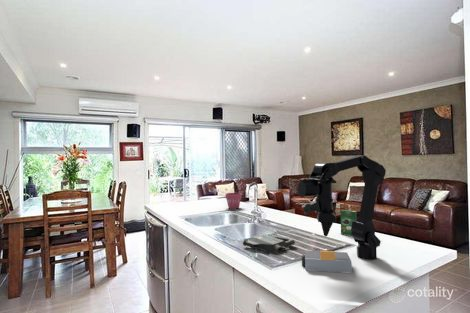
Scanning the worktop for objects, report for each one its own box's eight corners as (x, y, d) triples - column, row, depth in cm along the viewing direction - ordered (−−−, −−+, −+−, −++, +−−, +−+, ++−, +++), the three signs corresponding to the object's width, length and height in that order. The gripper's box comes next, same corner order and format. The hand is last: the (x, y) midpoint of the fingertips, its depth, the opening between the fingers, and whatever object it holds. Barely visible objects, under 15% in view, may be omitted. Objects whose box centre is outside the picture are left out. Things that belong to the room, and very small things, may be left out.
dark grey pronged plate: (281, 257, 115) (281, 245, 115) (241, 248, 127) (241, 237, 127) (296, 247, 128) (295, 236, 128) (259, 240, 140) (258, 230, 140)
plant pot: (245, 208, 230) (244, 193, 231) (231, 210, 223) (230, 195, 223) (236, 206, 243) (235, 192, 243) (222, 208, 235) (222, 193, 235)
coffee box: (357, 234, 144) (356, 210, 144) (357, 236, 141) (356, 211, 141) (341, 233, 148) (340, 209, 148) (340, 234, 145) (340, 210, 145)
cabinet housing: (347, 265, 104) (347, 252, 104) (351, 274, 96) (350, 260, 96) (301, 262, 108) (301, 250, 108) (302, 270, 100) (301, 257, 100)
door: (351, 273, 96) (350, 252, 96) (351, 274, 95) (351, 253, 95) (305, 270, 99) (304, 249, 99) (305, 271, 98) (304, 250, 98)
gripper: (302, 192, 114) (303, 228, 114) (303, 198, 96) (304, 242, 96) (329, 192, 111) (331, 229, 111) (335, 199, 93) (337, 243, 93)
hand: (325, 235), depth 103 cm, fingers closed
